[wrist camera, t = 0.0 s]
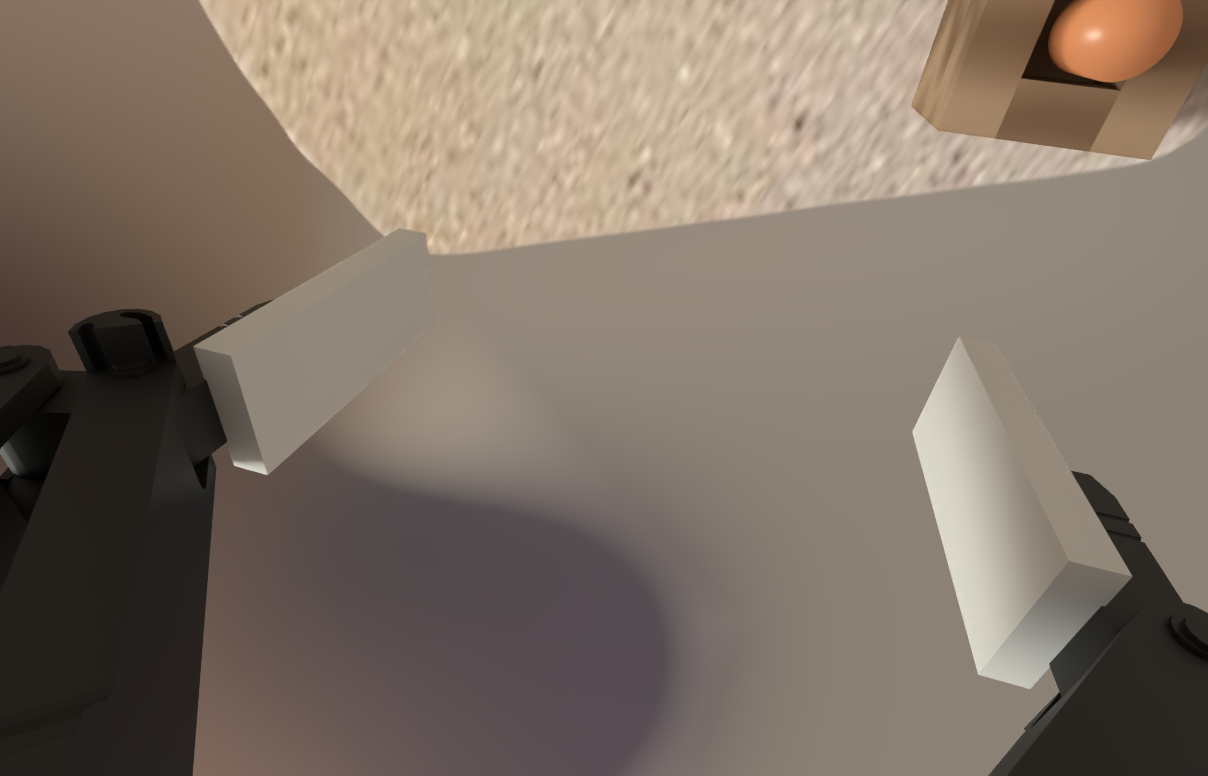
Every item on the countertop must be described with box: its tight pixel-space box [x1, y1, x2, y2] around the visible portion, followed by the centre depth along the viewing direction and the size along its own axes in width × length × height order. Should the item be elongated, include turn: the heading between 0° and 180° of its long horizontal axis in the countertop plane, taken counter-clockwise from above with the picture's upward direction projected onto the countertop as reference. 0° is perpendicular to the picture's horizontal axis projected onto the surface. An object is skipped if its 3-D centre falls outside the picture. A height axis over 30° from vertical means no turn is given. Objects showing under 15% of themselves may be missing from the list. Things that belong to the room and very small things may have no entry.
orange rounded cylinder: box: [1048, 0, 1183, 82], centre depth 24 cm, size 3×3×3 cm
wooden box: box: [911, 0, 1208, 160], centre depth 28 cm, size 10×9×8 cm
